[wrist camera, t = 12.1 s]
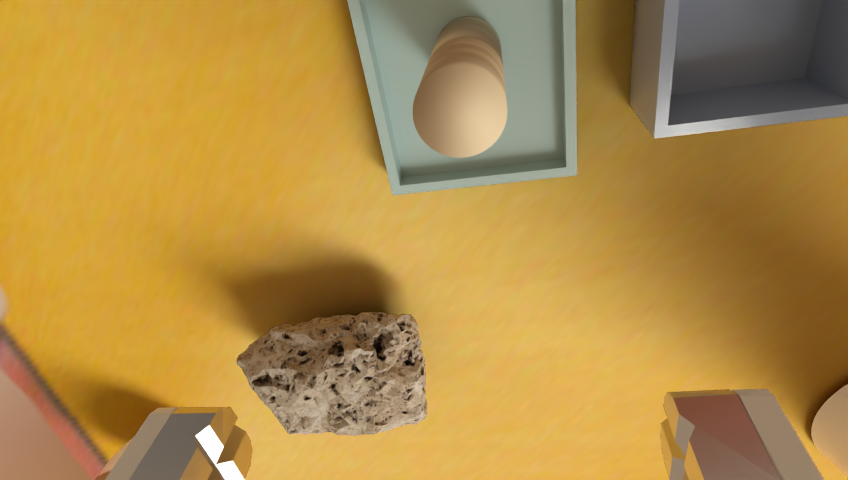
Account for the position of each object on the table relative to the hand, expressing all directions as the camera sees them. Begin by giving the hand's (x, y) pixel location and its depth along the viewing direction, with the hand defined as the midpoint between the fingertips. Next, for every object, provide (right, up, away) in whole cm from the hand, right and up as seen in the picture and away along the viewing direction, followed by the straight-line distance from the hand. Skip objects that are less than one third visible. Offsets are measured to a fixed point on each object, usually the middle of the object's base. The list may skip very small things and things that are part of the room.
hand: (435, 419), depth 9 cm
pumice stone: (-6, -4, +32) cm, 33 cm away
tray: (+2, +14, +19) cm, 24 cm away
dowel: (+2, +14, +18) cm, 23 cm away
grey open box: (+15, +15, +16) cm, 27 cm away
